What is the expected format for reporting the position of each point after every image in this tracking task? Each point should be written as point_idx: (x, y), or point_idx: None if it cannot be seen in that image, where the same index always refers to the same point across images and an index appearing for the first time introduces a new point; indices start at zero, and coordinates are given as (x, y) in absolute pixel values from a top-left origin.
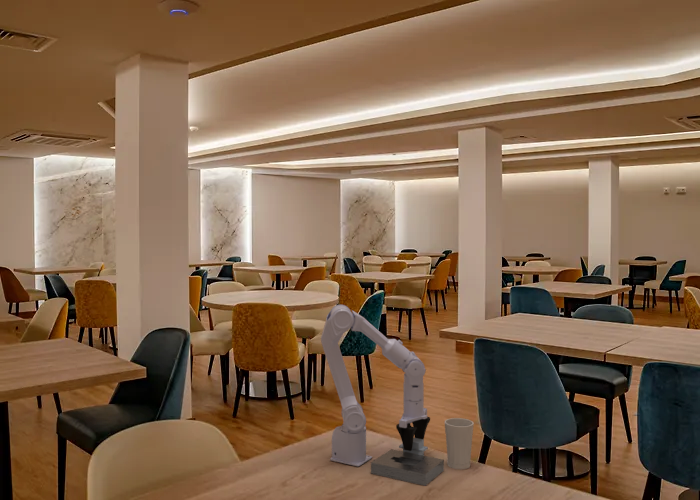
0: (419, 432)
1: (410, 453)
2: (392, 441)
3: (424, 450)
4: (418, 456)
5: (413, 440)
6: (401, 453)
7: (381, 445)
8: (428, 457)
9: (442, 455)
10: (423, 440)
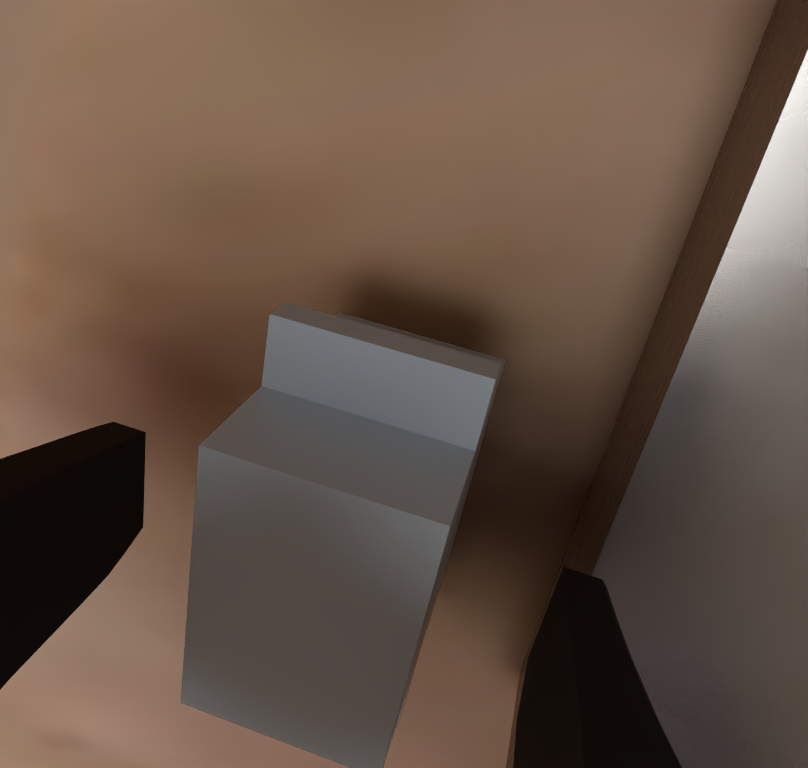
0: (13, 582)
1: (627, 555)
2: None
3: (421, 345)
4: (767, 415)
5: (334, 623)
6: (661, 678)
7: (158, 753)
8: (803, 207)
9: (115, 56)
10: (221, 443)
